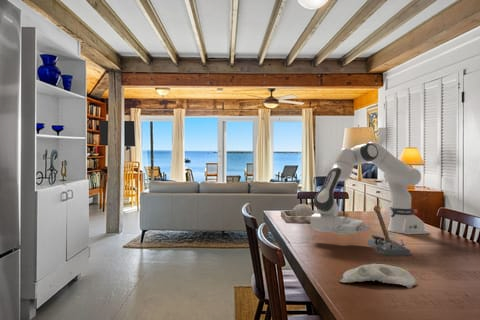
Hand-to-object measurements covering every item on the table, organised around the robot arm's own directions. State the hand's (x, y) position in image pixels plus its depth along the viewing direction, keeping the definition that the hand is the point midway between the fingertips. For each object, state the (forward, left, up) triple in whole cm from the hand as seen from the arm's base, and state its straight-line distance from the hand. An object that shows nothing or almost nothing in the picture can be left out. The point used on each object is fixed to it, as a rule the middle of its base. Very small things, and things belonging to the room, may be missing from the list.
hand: (369, 228), depth 177 cm
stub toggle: (-13, +9, -6) cm, 17 cm away
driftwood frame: (+19, -77, -10) cm, 80 cm away
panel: (-9, +1, -10) cm, 13 cm away
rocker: (-6, -5, -6) cm, 10 cm away
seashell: (+17, -77, -10) cm, 80 cm away
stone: (+14, +43, -11) cm, 46 cm away
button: (-11, -4, -7) cm, 14 cm away
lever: (-8, +5, -6) cm, 11 cm away
